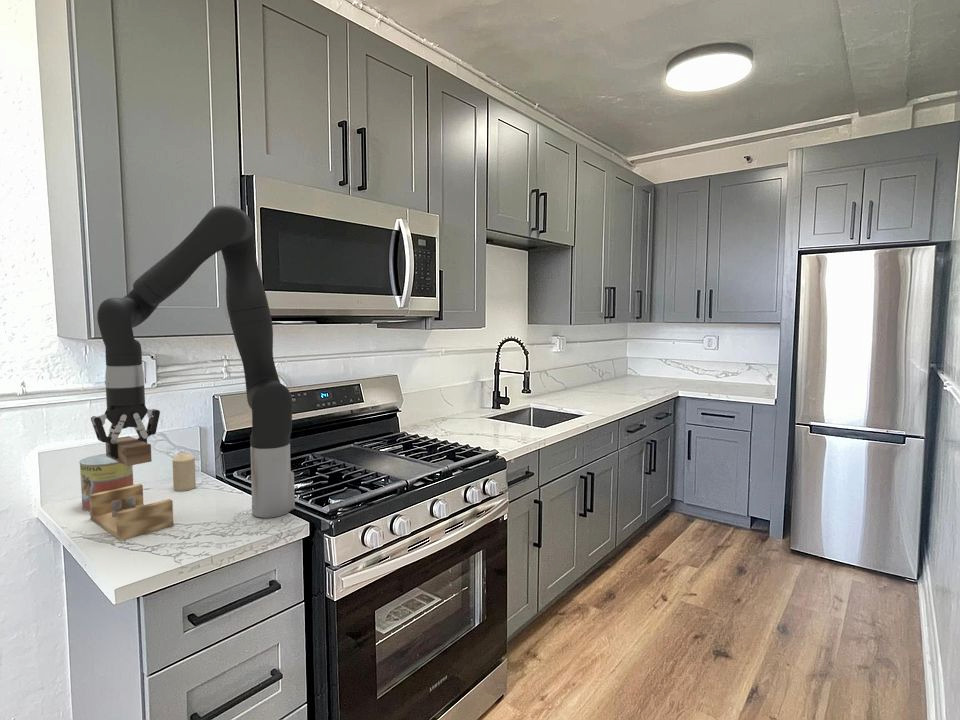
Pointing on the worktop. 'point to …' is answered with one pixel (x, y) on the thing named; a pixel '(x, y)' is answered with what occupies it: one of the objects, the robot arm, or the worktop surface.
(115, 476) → the canned food
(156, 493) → the worktop surface
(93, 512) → the peg frame
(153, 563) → the worktop surface
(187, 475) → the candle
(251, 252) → the robot arm
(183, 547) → the worktop surface
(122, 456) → the brown wooden block
